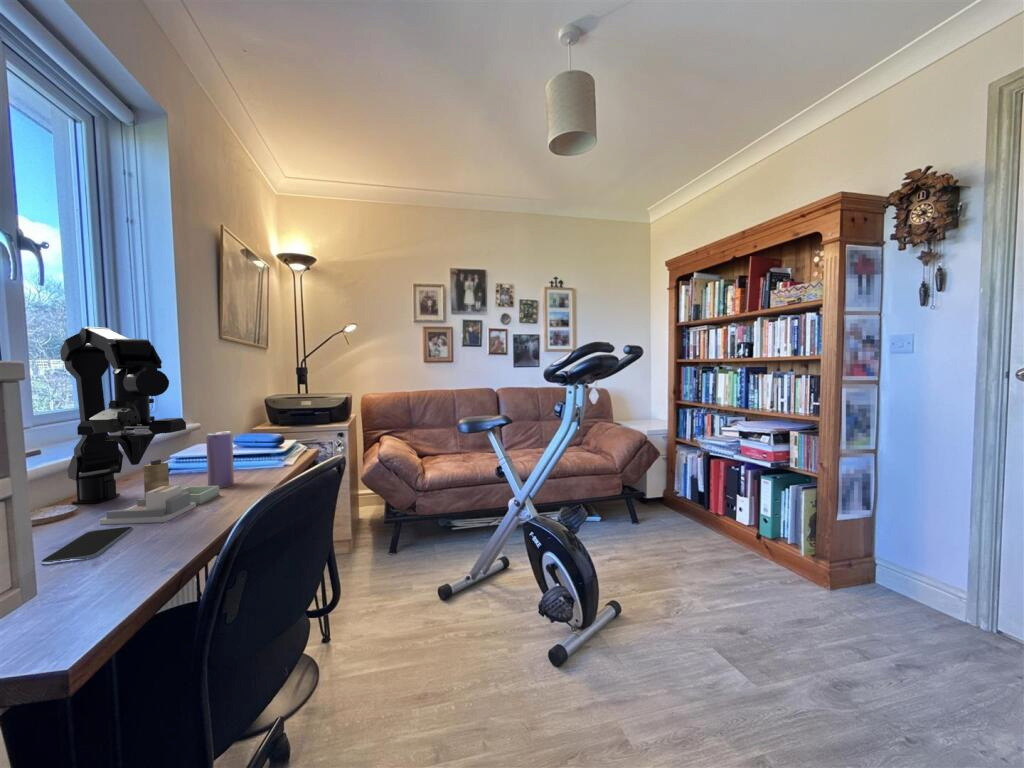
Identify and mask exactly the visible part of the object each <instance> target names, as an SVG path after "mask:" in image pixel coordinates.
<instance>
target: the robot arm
mask: <svg viewBox="0 0 1024 768" xmlns="http://www.w3.org/2000/svg"><path fill="white" fill-rule="evenodd" d="M60 359H61V361H62V362H63V363H64V369H65V370H66V371H67V372H68V373H69V374H70V375H71V376H72V377H73V378H74V379H75V383H76V392H77V403H78V410H79V412H78V413H79V421H80V423H79V424H78V425H77V427H76V431H77V436H81V438H80V439H79V440H78V442H77V444H76V445H75V447H74V448H73V455H72V457H71V460H70V462H69V465H68V467H67V475H68V479H70V480H73V481H75V482H76V483H75V484H76V485H75V486H76V500H75V499H74V500H72V501H70V504H75V505H76V504H78V505H79V504H100V503H102V502H105V501H108V500H110V499H113V498H116V497H119V496H121V493H120V492H119V493H117V482H116V481H117V480H116V479H115V474H121V472H122V471H121V470H122V466H123V459H124V454H123V453H122V450H123V452H124V453H125V456H126V457H127V459H128V461H129V463H130V465H132V466H137V465H139V464H140V462H141V461H142V459H143V457H144V455H145V453H146V451H147V449H148V447H149V445H150V444H151V442H152V441H153V440H154V438H155V437H156V436H157V435H161V434H172V433H175V432H181V431H186V430H187V422H186V421H185V420H184V418H183V417H167V418H160V419H155V416H153V415H152V416H151V406H150V405H151V404H154V402H155V400H154V398H150V397H158V396H160V395H163V394H164V393H165V392H166V391H167V390H168V389H169V387H170V386H169V385H170V380H169V378H168V377H167V376H168V375H166V374H165V373H164V372H162V371H161V369H162V366H163V365H162V363H163V361H162V359H161V358H160V356H159V354H158V352H157V350H156V348H155V347H154V345H153V344H152V343H151V341H150V340H149V339H145V338H143V339H142V338H141V339H140V338H128V337H126V336H124V335H121V334H119V333H117V332H115V331H113V330H112V329H111V328H108V327H97V326H86V327H81V329H80V330H79V332H78V333H76V334H74V335H72V336H69V337H67V338H66V339H65V340H64V341H63V344H62V346H61V348H60ZM110 366H111V367H112V369H113V370H112V374H113V391H114V400H109V402H108V408H107V409H106V403H105V395H104V386H103V385H104V384H103V376H104V374H105V373H106V372H107V370H108V369H109V368H110ZM158 369H160V370H158ZM119 447H121V448H122V450H120V448H119Z"/></svg>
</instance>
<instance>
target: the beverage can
mask: <svg viewBox="0 0 1024 768" xmlns="http://www.w3.org/2000/svg"><path fill="white" fill-rule="evenodd" d="M206 435H207V436H206V441H205V442H206V464H207V465H206V468H207V472H206V473H207V486H219V489H222V488H228V487H231V486H232V485H234V483H235V481H234V480H235V479H234V478H235V475H234V474H235V473H234V472H235V471H234V449H233V447H234V446H233V443H234V442H233V435H232V431H230V430H229V431H228V430H226V431H225V430H224V431H222V430H221V431H212V432H208V433H207V434H206Z"/></svg>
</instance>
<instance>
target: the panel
mask: <svg viewBox="0 0 1024 768" xmlns="http://www.w3.org/2000/svg"><path fill="white" fill-rule="evenodd" d="M195 508H197V505H196V502H191V503H190V492H189V493H182V494H180V495H178V496H175V497H173V498H171V499H169V500H166V512H165V508H164V509H146V498H145V497H143V498H137V499H136V504H135V505H132V506H130V507H127V508H125V509H112V510H111V509H110V510H108V511H105V513H106V514H105V515H106V516H105V517H103V518H100V519H99V525H115V524H116V525H118V524H120V525H121V524H145V523H166V522H168V521H170V520H172V519H174V518H176V517H178V516H180V515H183V514H184V513H186V512H188V511H190V510H191V509H195Z"/></svg>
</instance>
